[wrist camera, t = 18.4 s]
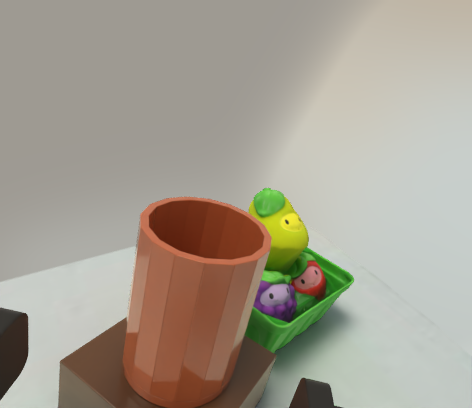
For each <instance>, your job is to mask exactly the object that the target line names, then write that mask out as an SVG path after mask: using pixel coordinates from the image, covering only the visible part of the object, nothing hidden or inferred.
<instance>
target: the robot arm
mask: <svg viewBox="0 0 472 408" xmlns="http://www.w3.org/2000/svg"><path fill="white" fill-rule="evenodd" d="M27 357H28V316H27V314H26V313H22V312H18V311H13V310H9V309H4V308H0V400H1V399H2V397H3V396H4V395H5V393H6V392H7V391H8V389H9V388H10V387H11V385H12V384H13V383H14V381H15V380H16V379H17V377H18V376H19V375H20V373H21V371H22V370H23V368H24V366H25V363H26V360H27ZM289 408H342V407H337V406H334V402H333V397H332V392H331V388H330V385H329V384H328V383H323V382H319V381H315V380H310V379H306V378H302V379H301V380H300V382H299V385H298V387H297V390H296V392H295V395H294V397H293V399H292V402H291V404H290V407H289Z"/></svg>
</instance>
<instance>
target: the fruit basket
mask: <svg viewBox="0 0 472 408" xmlns="http://www.w3.org/2000/svg"><path fill="white" fill-rule="evenodd" d="M249 214H251V215H252V216H254V217H255V218H256V219H257V220H259V221H260V222H261V223H263V224H264V225H265V227H266V228H267V230H268V232H269V233H270V235H271V237H272V241H271V248H270V252H269V256H268V259H267V262H266V266H265V269H264V272H263V275H262V279H261V282H260V285H259V289H258V292H257V295H256V298H255V302H254V305H253V308H252V311H251V315H250V318H249V321H248V325H247V328H246V331H245V334H244V335H245V336H247V337H248V338H250V339H252V340H253V341H255V342H256V343H258V344H260V345H261V346H263V347H264V348H266V349H268V350H269V351H271V352H272V353H275V351H276V350H277V349H280V348H282V347H284V346H285V345H286V344H288V343H289V342H290V341H291V340H292V339H293V338H294V336H298V335H299V334H301V333H302V332H303V331H305V330H306V329H307V328H308V327H309V326H310V325H311V324H314V323H315V322H317V321H318V320H319V319H321V317H322V316H323V315H324V314H325V313H326V311H327V310H328V309H329V308H330V307H331V305H332V304H333V303H334V302H335V300H336V299H337V298H338V297H339V296H340V295H341V293H343V292H344V291H345V290H347V289H348V288H349V287H350V285H351V284H352V283H353V282H354V278H353V276H352V275H351V274H350V273H348V272H347V271H345V270H344V269H342V268H340V267H339V266H337V265H335V264H333V263H332V262H330V261H329V260H327V259H325V258H323V257H322V256H320V255H319V254H317V253H316V252H314V251H312V250H311V249H309V248H308V247H307V246H308V241H309V237H308V232H307V230H306V227H305V225H304V224H303V222H302V220H301V218H300V217H299V215H298V214H297V213H296V212H295V210H294V209H293V207H292V205H291V204H290V202H289V201H288V199H287V198H286V197H284V195H283V194H282V193H281V192H279V191H277V190H271V189H270V188H265V189H263V191H260V192H259V193H258V194H256V196H255V197H254V200H253V201H252V202H251V204H250V207H249Z"/></svg>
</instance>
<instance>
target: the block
mask: <svg viewBox="0 0 472 408" xmlns="http://www.w3.org/2000/svg"><path fill="white" fill-rule="evenodd" d="M126 320H127V317H126V318H125V319H123V320H122V321H120V322H119V323H117V324H115V325H114V326H112V327H111V328H109V329H108V330H106V331H105V332H103V333H102V334H100V335H99V336H97V337H96V338H94V339H93V340H91V341H90V342H88V343H87V344H85V345H84V346H82V347H81V348H79V349H78V350H76V351H75V352H73V353H71V354H70V355H68V356H67V357H65V358H64V359H62V360H61V361H60V378H59V403H58V408H166V407H162V406H159V405H156V404H153V403H151V402H149V401H147V400H146V399H144V398H143V397H141V396H140V395H139V394H138V393H137V392H136V391H134V389H133V388H132V387H131V386H130V384H129V383H128V381H127V379H126V377H125V374H124V372H123V367H122V356H123V343H124V336H125V328H126ZM275 359H276V354H274V353H272V352H271V351H269V350H268V349H266V348H264V347H263V346H261V345H260V344H258V343H256V342H255V341H253V340H252V339H250V338H248V337H247V336H245V335H244V338H243V341H242V344H241V348H240V351H239V354H238V357H237V361H236V364H235V367H234V371H233V374H232V376H231V378H230V381H229V383H228V385H227V386H226V388H225V389H224V390H223V391H222V393H221V394H220V395H218V396H217V397H216V398H215V399H213V400H212V401H210V402H208V403H206V404H204V405H201V406H198V407H194V408H255V406H256V405H257V403H258V402H259V400H260V399H261V397H262V395H263V392H264V389H265V386H266V384H267V381H268V378H269V375H270V373H271V370H272V367H273V364H274V362H275Z"/></svg>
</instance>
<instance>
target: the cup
mask: <svg viewBox="0 0 472 408" xmlns="http://www.w3.org/2000/svg"><path fill="white" fill-rule="evenodd" d="M271 241H272V237H271V235H270V233H269V232H268V230H267V228H266V227H265V225H264V224H263V223H261V222H260V221H259V220H257V219H256V218H255V217H254V216H252V215H251V214H249V213H247V212H245V211H243V210H241V209H239V208H237V207H235V206H232V205H230V204H226V203H222V202H218V201H215V200H211V199H204V198H195V197H177V198H166V199H163V200H161V201H158V202H155V203H152V204H150V205H149V206H148V207H147V208H146V209H145V210H144V211H143V212H142V213H141V215H140V221H139V229H138V237H137V244H136V252H135V259H134V267H133V275H132V282H131V290H130V298H129V305H128V313H127V320H126V328H125V336H124V343H123V356H122V367H123V372H124V374H125V377H126V379H127V381H128V383H129V384H130V386H131V387H132V388H133V389H134V391H136V392H137V393H138V394H139V395H140V396H141V397H143V398H144V399H146V400H147V401H149V402H151V403H153V404H156V405H159V406H162V407H166V408H194V407H198V406H201V405H204V404H206V403H208V402H210V401H212V400H213V399H215V398H216V397H217V396H218V395H220V394H221V393H222V391H223V390H224V389H225V388H226V386H227V385H228V383H229V381H230V378H231V376H232V374H233V371H234V367H235V364H236V361H237V357H238V354H239V351H240V348H241V344H242V341H243V338H244V334H245V331H246V328H247V325H248V321H249V318H250V315H251V311H252V308H253V305H254V302H255V298H256V295H257V292H258V289H259V285H260V282H261V279H262V275H263V272H264V269H265V266H266V262H267V259H268V256H269V252H270V248H271Z"/></svg>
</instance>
